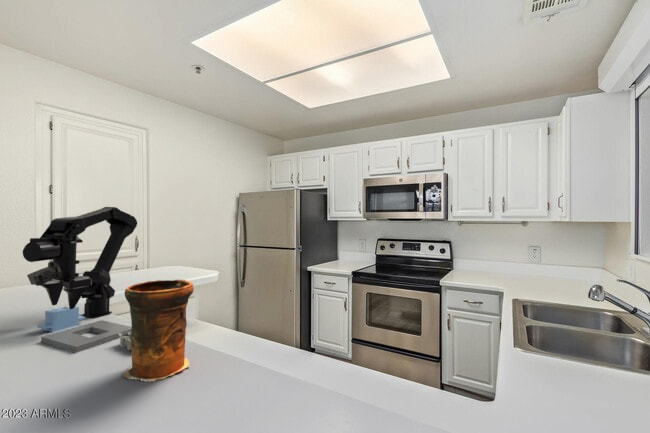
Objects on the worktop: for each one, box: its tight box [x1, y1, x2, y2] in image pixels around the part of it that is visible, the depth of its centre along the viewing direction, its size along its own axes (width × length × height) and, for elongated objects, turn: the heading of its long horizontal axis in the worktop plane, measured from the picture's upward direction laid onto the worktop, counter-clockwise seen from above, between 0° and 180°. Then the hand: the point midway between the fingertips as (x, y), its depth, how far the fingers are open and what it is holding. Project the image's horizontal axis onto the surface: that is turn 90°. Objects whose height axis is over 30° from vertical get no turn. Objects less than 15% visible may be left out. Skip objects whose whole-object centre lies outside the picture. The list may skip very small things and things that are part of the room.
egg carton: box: [118, 331, 131, 351], centre depth 86 cm, size 11×8×4 cm
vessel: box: [122, 279, 195, 383], centre depth 73 cm, size 14×14×20 cm
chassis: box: [40, 319, 132, 353], centre depth 90 cm, size 16×16×2 cm
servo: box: [36, 304, 86, 333], centre depth 97 cm, size 4×11×7 cm, turn 158°
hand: (62, 306), depth 97 cm, fingers open, 9 cm apart
